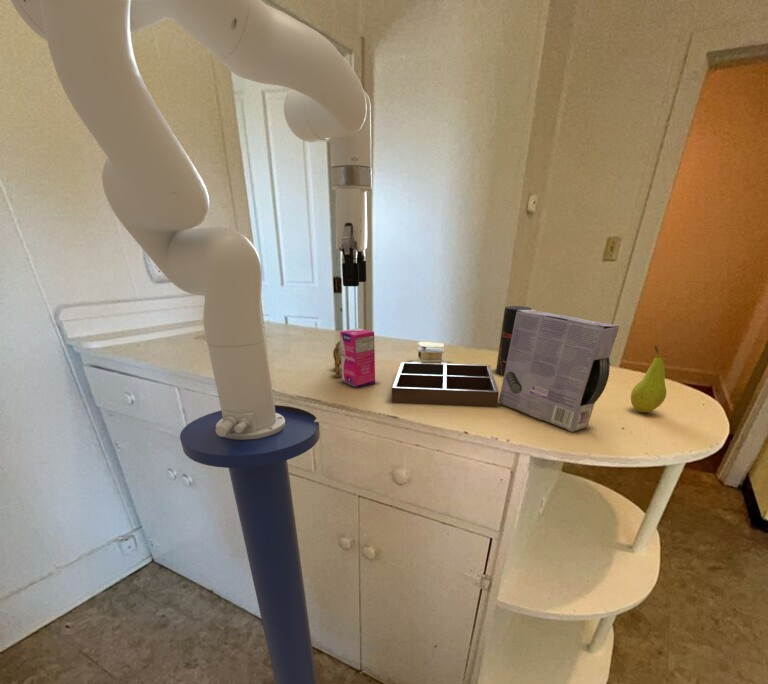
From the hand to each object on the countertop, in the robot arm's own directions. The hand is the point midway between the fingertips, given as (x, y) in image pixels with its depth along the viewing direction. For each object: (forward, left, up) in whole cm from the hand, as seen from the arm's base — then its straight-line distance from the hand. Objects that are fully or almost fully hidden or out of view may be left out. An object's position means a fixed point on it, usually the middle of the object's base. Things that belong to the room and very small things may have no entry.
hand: (355, 283), depth 89 cm
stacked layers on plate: (+17, -16, -21) cm, 31 cm away
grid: (-3, -20, -21) cm, 29 cm away
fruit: (-13, -59, -21) cm, 64 cm away
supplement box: (-1, 0, -21) cm, 21 cm away
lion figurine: (+7, +5, -21) cm, 23 cm away
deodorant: (+13, -36, -21) cm, 44 cm away
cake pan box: (-18, -39, -21) cm, 48 cm away
